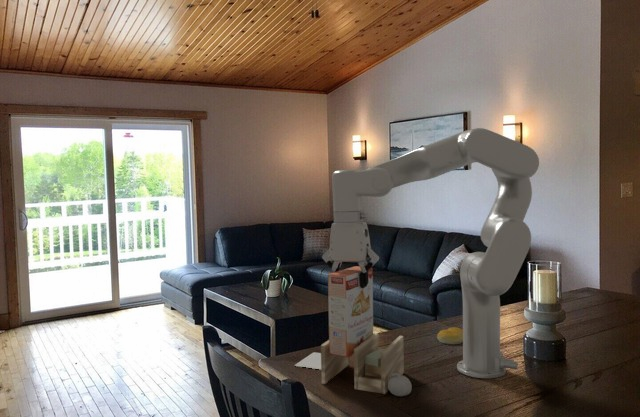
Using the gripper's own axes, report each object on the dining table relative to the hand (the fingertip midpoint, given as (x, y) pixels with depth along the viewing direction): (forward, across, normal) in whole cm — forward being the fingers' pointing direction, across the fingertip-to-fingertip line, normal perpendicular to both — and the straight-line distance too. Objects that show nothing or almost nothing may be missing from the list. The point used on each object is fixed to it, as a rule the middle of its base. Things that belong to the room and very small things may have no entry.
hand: (351, 285), depth 145 cm
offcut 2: (+22, -7, 0) cm, 23 cm away
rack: (+24, -3, 0) cm, 24 cm away
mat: (+24, +13, -6) cm, 28 cm away
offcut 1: (+19, -7, 0) cm, 20 cm away
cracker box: (+17, 0, 0) cm, 17 cm away
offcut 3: (+25, -7, +1) cm, 26 cm away
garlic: (+25, -14, +7) cm, 29 cm away
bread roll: (+25, -17, -40) cm, 50 cm away
